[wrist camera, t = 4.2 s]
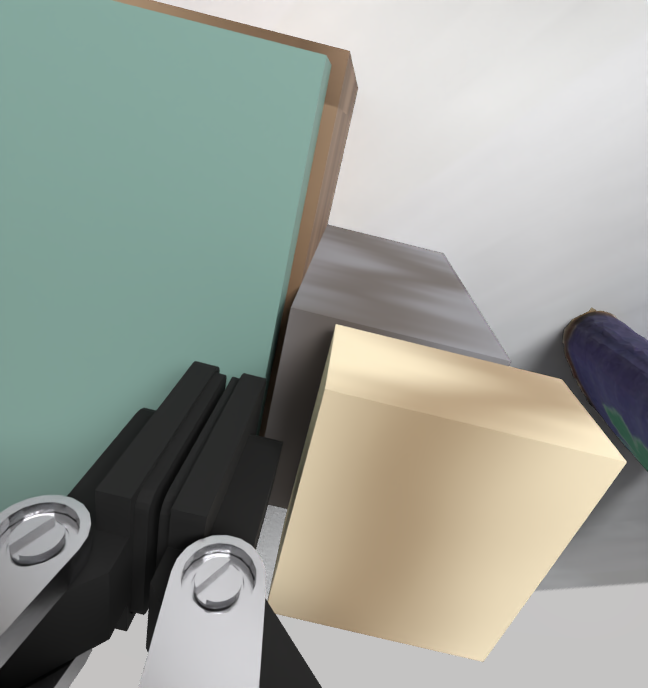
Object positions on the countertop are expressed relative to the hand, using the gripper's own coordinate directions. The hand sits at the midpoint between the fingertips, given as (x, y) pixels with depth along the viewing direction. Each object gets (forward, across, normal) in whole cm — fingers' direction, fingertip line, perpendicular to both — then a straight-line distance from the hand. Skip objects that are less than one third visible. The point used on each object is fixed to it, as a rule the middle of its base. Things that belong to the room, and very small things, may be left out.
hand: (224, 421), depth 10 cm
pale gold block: (0, -4, 0) cm, 4 cm away
